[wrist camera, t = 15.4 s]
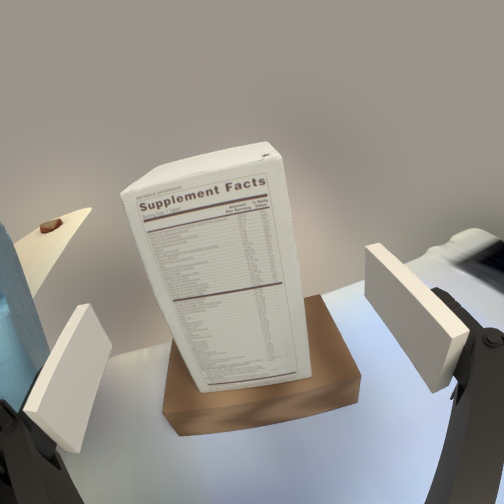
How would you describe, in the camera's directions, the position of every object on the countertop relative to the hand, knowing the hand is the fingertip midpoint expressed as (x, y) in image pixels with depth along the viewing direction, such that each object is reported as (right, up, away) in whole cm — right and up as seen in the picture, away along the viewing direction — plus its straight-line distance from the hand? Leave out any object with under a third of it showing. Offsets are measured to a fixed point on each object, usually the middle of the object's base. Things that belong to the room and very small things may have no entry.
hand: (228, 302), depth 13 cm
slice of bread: (-91, +13, +101) cm, 137 cm away
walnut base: (+2, -10, +15) cm, 18 cm away
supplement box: (+1, -7, +13) cm, 15 cm away
